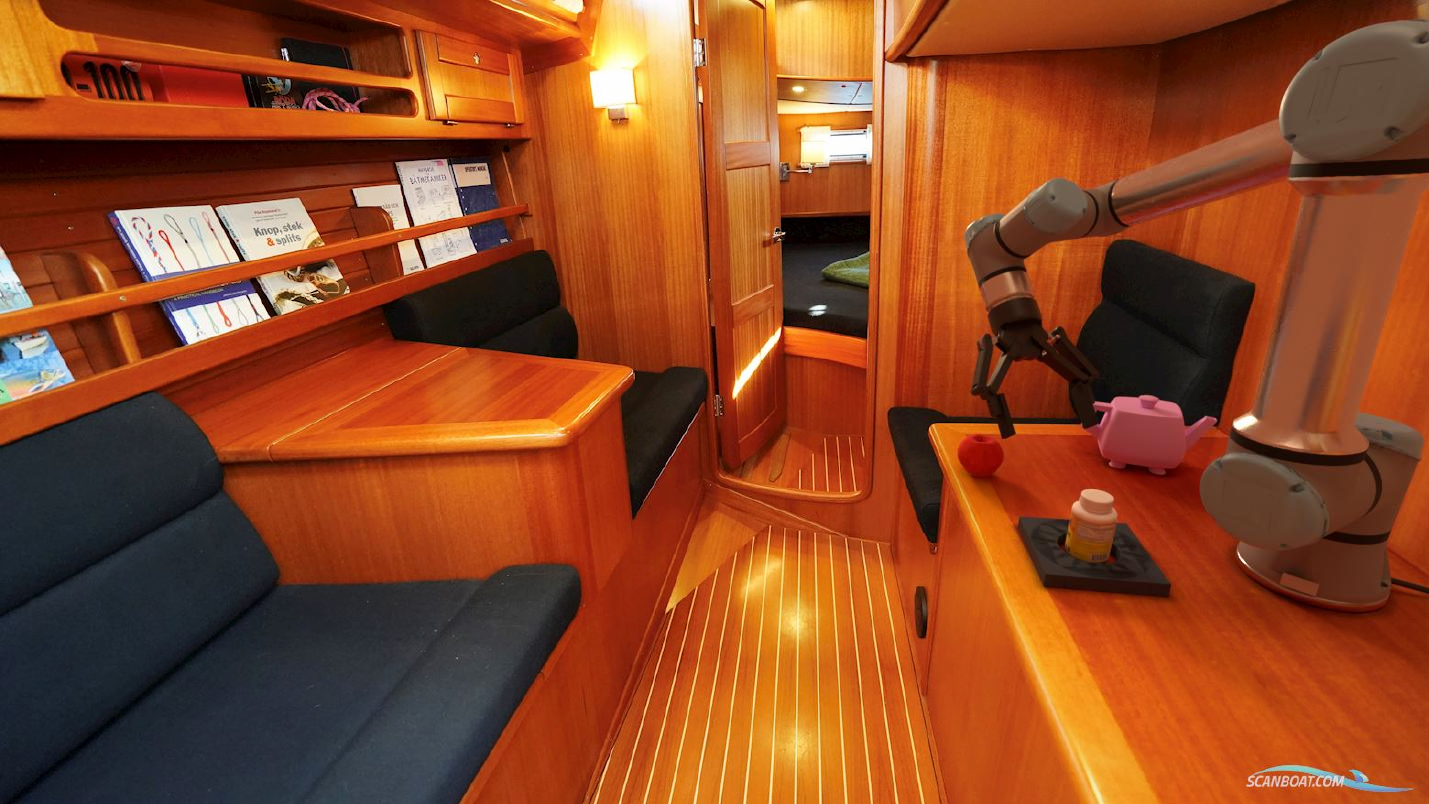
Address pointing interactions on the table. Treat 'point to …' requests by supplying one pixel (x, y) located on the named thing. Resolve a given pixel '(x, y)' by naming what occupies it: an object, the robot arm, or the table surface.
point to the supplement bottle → (1091, 527)
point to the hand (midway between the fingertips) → (1050, 431)
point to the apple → (980, 455)
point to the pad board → (1065, 571)
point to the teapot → (1145, 432)
